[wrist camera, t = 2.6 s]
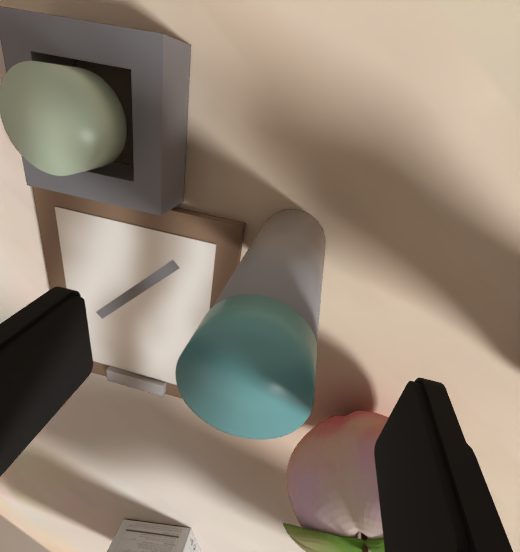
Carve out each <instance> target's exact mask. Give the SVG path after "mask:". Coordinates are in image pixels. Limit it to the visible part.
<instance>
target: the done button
mask: <svg viewBox="0 0 520 552" xmlns="http://www.w3.org/2000/svg"><path fill="white" fill-rule="evenodd" d="M0 115H1V119H2V122H3V125H4V128H5V130H6V132H7V134H8V136H9V138H10V140H11V142H12V143H13V145H14V146H15V148H16V149H17V150H18V151H19V153H20V154H21V155H22V156H23V157H24V158H25V159H26V160H27V161H28V162H29V163H31V164H32V165H33V166H35V167H36V168H38V169H40V170H41V171H43V172H46V173H48V174H51V175H56V176H67V175H72V174H76V173H80V172H84V171H88V170H92V169H95V168H99V167H103V166H106V165H109V164H111V163H112V162H114V161H115V160H116V159H117V158H118V157H119V156H120V154H121V153H122V151H123V148H124V146H125V142H126V137H127V124H126V118H125V114H124V111H123V108H122V105H121V103H120V101H119V99H118V97H117V95H116V94H115V92H114V91H113V89H112V88H111V87H110V86H109V85H108V84H107V83H106V82H105V81H104V80H103V79H102V78H101V77H99V76H98V75H97V74H95V73H93V72H91V71H89V70H87V69H83V68H78V67H72V66H65V65H58V64H52V63H45V62H38V61H24V62H20V63H18V64H16V65H14V66H13V67H11V68H10V69H9V70H8V72H7V73H6V74H5V76H4V78H3V80H2V82H1V85H0Z"/></svg>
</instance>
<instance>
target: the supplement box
mask: <svg viewBox="0 0 520 552" xmlns="http://www.w3.org/2000/svg"><path fill="white" fill-rule="evenodd" d="M107 552H201V550H200V548H199V545H198V543H197V541H196V539H195V537H194V534H193V532H192V530H191V528H187V527H179V526H171V525H163V524H156V523H148V522H140V521H133V520H123V521H122V523H121V525H120V527H119V529H118V531H117V533H116V535H115V537H114V539H113V541H112V543H111V545H110V547H109V549H108V551H107Z"/></svg>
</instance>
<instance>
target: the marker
mask: <svg viewBox="0 0 520 552" xmlns="http://www.w3.org/2000/svg"><path fill="white" fill-rule="evenodd" d="M325 244H326V240H325V234H324V231H323V229H322V227H321V225H320V224H319V222H318V221H317V220H316V219H315V218H314V217H312V216H311V215H309V214H308V213H305V212H303V211H299V210H284V211H280V212H278V213H276V214H274V215H272V216H271V217H270V218H269V219H268V220H267V221H266V222H265V223H264V225H263V227H262V228H261V230H260V231H259V233H258V235H257V236H256V238H255V239H254V241H253V243H252V244H251V246H250V247H249V249H248V251H247V252H246V254H245V255H244V257H243V259H242V260H241V262H240V263H239V265H238V267H237V268H236V270H235V272H234V273H233V275H232V276H231V278H230V280H229V281H228V283H227V284H226V286H225V288H224V289H223V291H222V292H221V294H220V296H219V297H218V299H217V300H216V302H215V304H214V305H213V307H212V308H211V309H210V310H209V311H208V313H207V314H206V315H205V317H204V318H203V320H202V322H201V323H200V325H199V326H198V328H197V329H196V331H195V333H194V334H193V336H192V337H191V339H190V341H189V342H188V344H187V345H186V347H185V348H184V350H183V352H182V353H181V355H180V357H179V359H178V362H177V365H176V371H175V374H176V383H177V387H178V389H179V392H180V394H181V396H182V398H183V399H184V401H185V402H186V404H187V405H188V406H189V408H190V409H191V410H192V411H193V412H194V413H195V414H196V415H197V416H198V417H200V418H201V419H202V420H203V421H205V422H206V423H208V424H209V425H211V426H213V427H215V428H216V429H218V430H221V431H223V432H225V433H228V434H231V435H234V436H238V437H242V438H248V439H273V438H277V437H282V436H284V435H287V434H289V433H291V432H293V431H295V430H296V429H298V428H299V427H301V426H302V425H303V423H304V422H305V421H306V420H307V418H308V417H309V415H310V413H311V411H312V407H313V402H314V390H315V378H316V365H317V351H318V349H317V336H318V324H319V313H320V301H321V290H322V279H323V267H324V256H325Z"/></svg>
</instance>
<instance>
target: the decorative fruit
mask: <svg viewBox="0 0 520 552" xmlns="http://www.w3.org/2000/svg"><path fill="white" fill-rule="evenodd" d="M388 418H389V417H386V416H383V415H380V414H377V413H374V412H370V411H355V412H352V413H350V414H349V415H336V416H333V417H330V418H328V419H326V420H324V421H322V422H321V423H319V424H318V425H317V426H315V427H314V428H313V429H312V430H311V431H309V432H308V433H307V434H306V435H305V436H304V437H303V438H302V439H301V441H300V442H299V443H298V444H297V446H296V447H295V449H294V451H293V453H292V454H291V457H290V460H289V463H288V469H287V485H288V492H289V497H290V501H291V504H292V507H293V510H294V512H295V515H296V517H297V519H298V521H299V523H300V524H301V526H302V528H301V527H297V526H294V525H290V524H286V523H284V524H283V525H284V527H285V529H286V531H287V533H288V534H289V535H290V537H291V538H292V539H293V540H294V541H295V542H296V543H297V544H298V545H299V546H300V547H301V548H302V549H303V550H305V551H306V552H385V548H384V539H383V530H382V521H381V512H380V502H379V493H378V484H377V475H376V466H375V457H374V448H375V443H376V441H377V439H378V437H379V435H380V433H381V431H382V429H383V428H384V426H385V424H386V422H387V420H388Z"/></svg>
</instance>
